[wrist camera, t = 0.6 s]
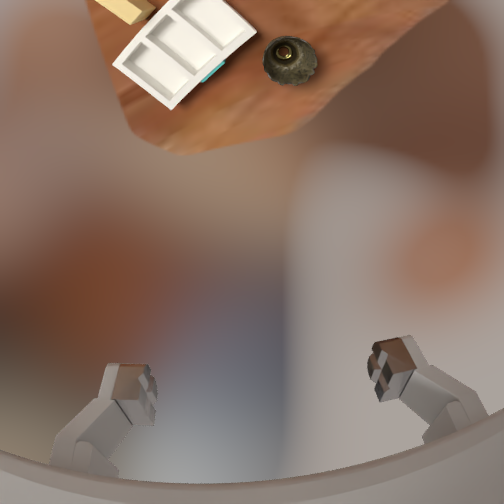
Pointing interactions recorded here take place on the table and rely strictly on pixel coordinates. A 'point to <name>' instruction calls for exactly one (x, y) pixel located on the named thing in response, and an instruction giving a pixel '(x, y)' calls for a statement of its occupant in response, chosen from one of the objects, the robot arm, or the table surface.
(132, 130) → the table surface
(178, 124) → the table surface
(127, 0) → the panel
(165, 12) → the rack
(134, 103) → the table surface
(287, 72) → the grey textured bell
